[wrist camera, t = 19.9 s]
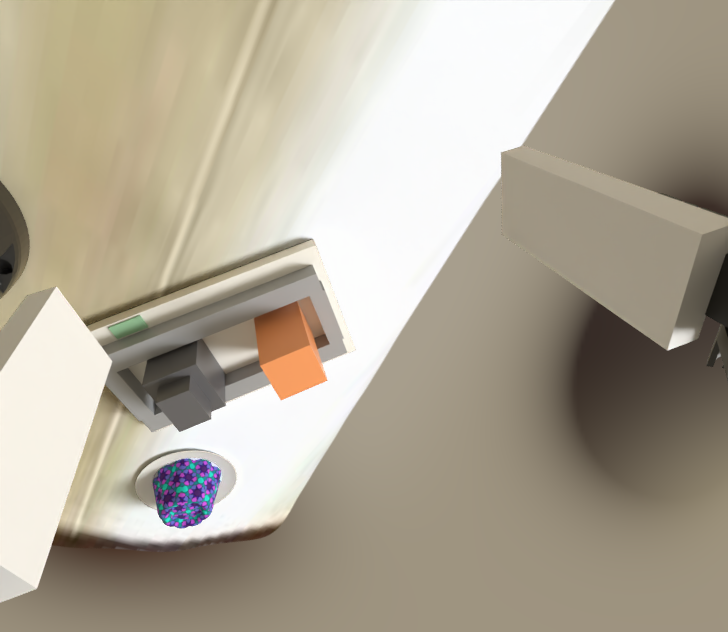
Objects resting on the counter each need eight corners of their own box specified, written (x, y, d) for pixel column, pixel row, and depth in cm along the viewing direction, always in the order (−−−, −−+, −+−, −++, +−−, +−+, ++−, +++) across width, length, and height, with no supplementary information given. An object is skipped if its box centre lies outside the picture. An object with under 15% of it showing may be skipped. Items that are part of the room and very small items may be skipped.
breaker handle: (179, 391, 45) (174, 441, 39) (149, 351, 41) (138, 401, 36) (224, 372, 45) (225, 420, 39) (198, 332, 42) (194, 378, 36)
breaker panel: (156, 422, 48) (152, 446, 45) (74, 330, 40) (63, 352, 37) (352, 342, 50) (360, 360, 47) (313, 238, 42) (319, 253, 39)
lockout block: (272, 348, 45) (281, 400, 39) (253, 316, 43) (259, 365, 36) (311, 332, 46) (327, 380, 39) (296, 298, 43) (309, 344, 36)
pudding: (231, 437, 53) (232, 472, 49) (241, 496, 59) (242, 531, 55) (125, 456, 50) (116, 494, 46) (147, 516, 56) (141, 555, 52)
